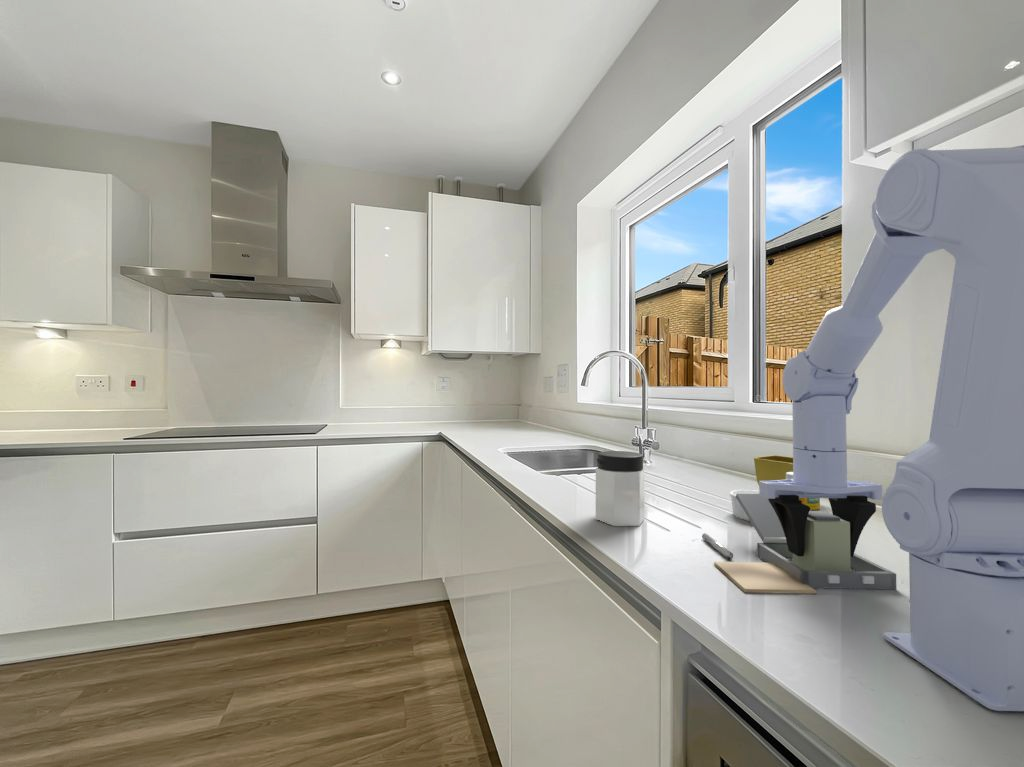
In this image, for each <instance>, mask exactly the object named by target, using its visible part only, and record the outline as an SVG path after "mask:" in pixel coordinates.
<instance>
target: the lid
mask: <svg viewBox="0 0 1024 767" xmlns="http://www.w3.org/2000/svg"><path fill="white" fill-rule="evenodd" d="M736 498H737V500H738V502H739V503H740V505H741V507H742V508H743V510H744V512H745V513H746V515H747V516H748V518H749V520H750V521H749V522H750V523H751V525H752V526H753V529H754V530H755V532H756V533H757V534H758V536H759V538H760V539H761V541H762V543H787V541H786V538H785V534H784V531H783V528H782V526H781V523H780V521H779V519H778V516H777V514H776V512H775V511H774V509H773V507H772V505H771V504H770V502H769V500H768V499H767V498H765V497H763V496H760V495H759V494H736Z"/></svg>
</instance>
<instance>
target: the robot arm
mask: <svg viewBox="0 0 1024 767" xmlns="http://www.w3.org/2000/svg"><path fill="white" fill-rule="evenodd" d="M870 217H871V224H872V226H873V229H874V231H875V233H874V236H873V238H872V239H871V242H870V244H869V246H868V247H867V251H866V253H865V255H864V257H863V259H862V261H861V264H860V266H859V268H858V270H857V273H856V275H855V277H854V279H853V282H852V284H851V286H850V289H849V290H848V293H847V295H846V297H845V300H844V302H843V303H842V305H840V306H837V307H835V308H832V309H830V310H828V311H826V313H825V314H824V316H823V318H822V320H821V322H820V324H819V326H818V327H817V329H816V331H815V333H814V334H813V337H812V338H811V340H810V342H809V344H808V346H807V347H806V349H805V350H803V351H798V353H797V355H795V356H792V357H790V358H789V359H788V360H787V361H786V363H785V367H784V368H783V371H782V372H783V373H782V380H781V381H782V387H783V388H782V389H783V391H784V393H785V396H786V397H787V398H788V399H789V400H791V401H792V402H791V403H792V457H793V479H785V480H773V481H759V485H758V486H759V487H758V491H759V495H760V496H763V497H765V498H767V499H768V500H769V502H770V504H771V505H772V507H773V509H774V511H775V512H776V514H777V516H778V519H779V521H780V523H781V526H782V528H783V531H784V534H785V538H786V541H787V545H788V550H789V551H790V552H792V553H793V554H795V555H797V556H804V551H805V526H806V521H807V517H808V513H809V510H810V507H809V506H807V505H804V504H802V501H801V500H799V498H820V499H828V501H829V505H830V508H831V512H832V513H831V514H832V515H835V516H837V517H840V519H842V520H845V521H847V522H850V557H853V555H854V554H855V551H856V548H857V545H858V542H859V539H860V536H861V534H862V532H863V530H864V528H865V526H866V525H867V524H868V522H869V520H870V519H871V517H872V516H873V515H874V514H875V513H876V512H877V506H876V505H877V504H876V503H875V502H872V501H869V500H868V499H871V500H873V501H874V500H875V501H881V513H882V518H883V522H884V525H885V527H886V529H887V530H888V532H889V533H890V535H891V536H892V538H893V539H894V540H895V541H896V543H897V544H899V549H900V550H902V551H903V552H907V553H908V564H909V566H908V567H909V569H908V570H909V571H908V572H909V574H908V575H909V627H910V631H909V632H894V631H893V632H890V631H889V632H887V631H886V632H884V633H883V638H884V639H885V640H886V641H887V642H890V644H892V645H894V646H895V647H897V648H898V649H899V650H900V651H903V652H904V653H906V655H908V656H910V657H911V658H913V659H914V660H916V661H917V662H919V663H920V664H922V666H924V667H926V668H927V669H929V670H930V671H932V672H934V673H935V674H936V675H938V676H940V677H941V678H942V679H944V680H946V682H948V683H949V684H951V685H953V686H954V687H956V688H957V689H959V690H960V691H961V692H963V693H964V694H966V695H967V696H969V697H970V698H972V699H973V700H975V701H976V702H978V703H979V704H981V705H982V706H984V707H986V708H987V709H989V710H992V711H995V712H1024V144H1023V145H1017V146H1011V147H989V148H988V147H987V148H961V149H959V148H957V149H956V148H955V149H935V150H934V149H933V150H932V149H927V148H916V149H913V150H912V149H911V150H910V151H908V152H905V153H903V154H902V155H901V156H899V157H898V158H897V159H896V160H895V161H894V162H893V163H892V164H891V166H890V167H888V169H887V170H886V172H885V173H884V174H883V176H882V178H881V180H880V182H879V184H878V187H877V190H876V193H875V198H874V200H873V202H872V203H871V205H870ZM942 249H943V250H944V251H946V252H947V253H948V254H950V255H952V256H953V259H954V260H955V264H954V270H953V276H952V282H951V283H952V285H951V290H950V291H951V292H950V296H949V303H948V310H947V315H946V316H947V317H946V324H945V330H944V336H943V344H942V350H941V358H940V365H939V370H938V377H937V382H936V383H937V384H936V390H935V391H936V392H935V397H934V404H933V411H932V417H931V424H930V432H929V439H927V441H926V442H925V443H924V444H922V445H921V446H919V447H917V448H916V449H913V451H911V452H909V453H907V455H905V456H903V457H902V458H901V459H899V460H897V462H896V467H895V473H894V477H893V480H892V481H891V483H889V485H888V487H887V488H886V490H885V492H884V495H883V485H882V484H879V483H875V482H871V481H857V480H854V481H853V480H848V456H847V455H848V453H847V452H848V451H847V448H848V447H847V415H849V414H851V411H852V401H853V398H854V396H855V395H856V392H857V389H858V386H859V378H858V377H857V375H856V370H857V369H858V368H859V367H860V365H861V364H862V361H863V360H864V359H865V358H866V356H867V354H868V353H869V351H870V350H871V348H872V347H873V345H874V344H875V343H876V341H877V339H878V338H879V337H880V335H881V334H882V332H883V328H884V327H883V324H882V321H881V319H880V317H879V315H880V314H881V313H882V311H883V310H884V309H885V308H886V306H887V305H888V303H889V302H890V300H892V299H893V297H895V294H896V293H897V292H898V291H899V289H900V288H901V287H902V286H903V284H904V283H905V282H906V280H907V279H908V278H909V276H911V274H912V273H913V271H914V270H915V269H916V268H917V266H918V265H919V264H920V263H921V261H922V260H923V259H924V258H925V256H927V255H928V254H930V253H933V252H936V251H937V252H938V251H939V250H942Z"/></svg>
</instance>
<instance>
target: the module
mask: <svg viewBox="0 0 1024 767" xmlns="http://www.w3.org/2000/svg"><path fill="white" fill-rule="evenodd" d="M792 562H793V563H794V564H796V565H797V566H799V567H801V568H802V569H804V570H814V571H852V568H851V562H850V522H847V521H845V520H842V519H840V517H837V516H835V515H833V513H829V512H826V511H825V510H820V511H809V513H808V517H807V521H806V526H805V551H804V556H797V555H795V554H793V558H792Z"/></svg>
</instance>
